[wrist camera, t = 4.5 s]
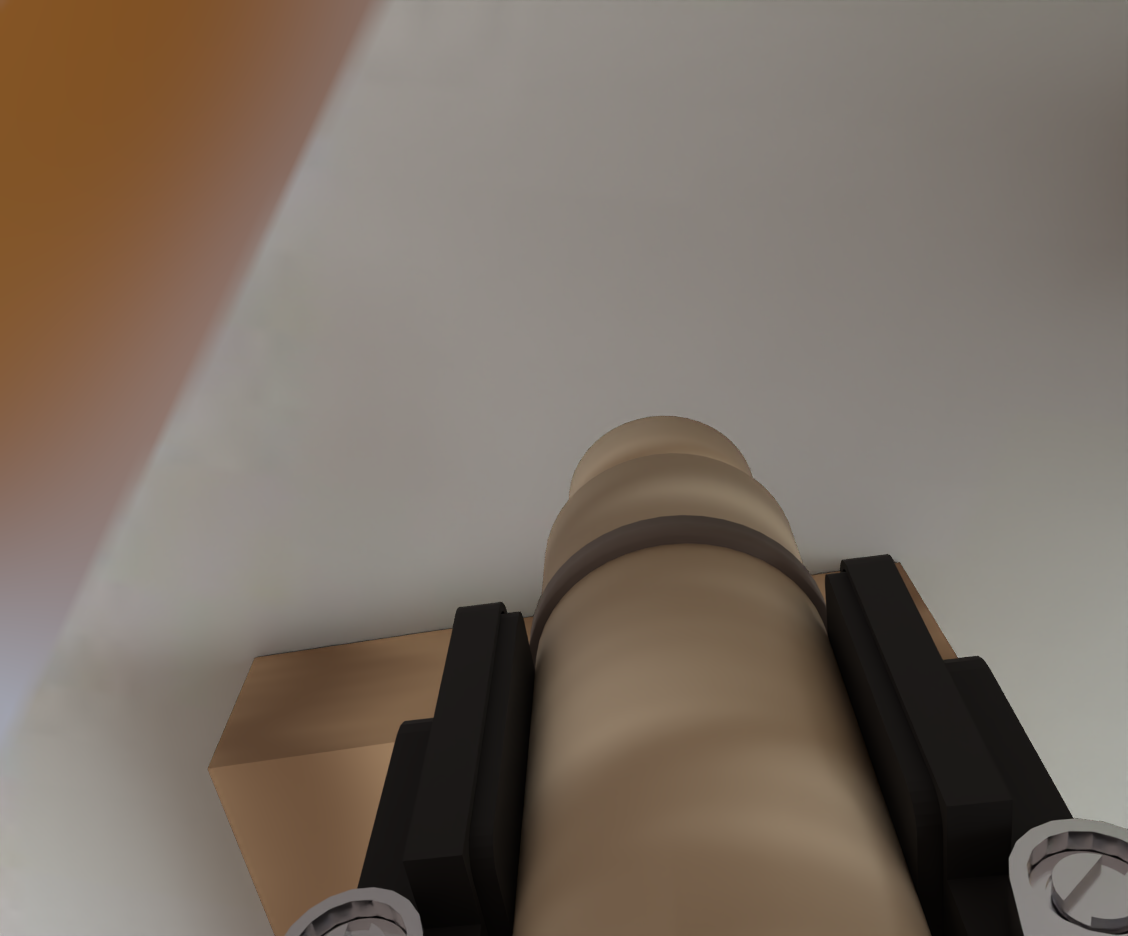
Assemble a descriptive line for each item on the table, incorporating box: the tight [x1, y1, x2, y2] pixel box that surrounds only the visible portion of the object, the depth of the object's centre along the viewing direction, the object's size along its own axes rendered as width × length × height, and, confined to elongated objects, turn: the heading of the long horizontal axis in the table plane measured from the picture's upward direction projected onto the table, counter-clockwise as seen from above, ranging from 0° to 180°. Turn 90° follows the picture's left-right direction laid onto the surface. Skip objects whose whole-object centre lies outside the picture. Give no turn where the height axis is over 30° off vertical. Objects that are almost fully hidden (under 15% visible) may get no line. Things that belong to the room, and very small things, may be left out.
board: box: [208, 562, 958, 936], centre depth 27 cm, size 16×16×4 cm
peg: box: [512, 416, 931, 936], centre depth 11 cm, size 4×4×13 cm
